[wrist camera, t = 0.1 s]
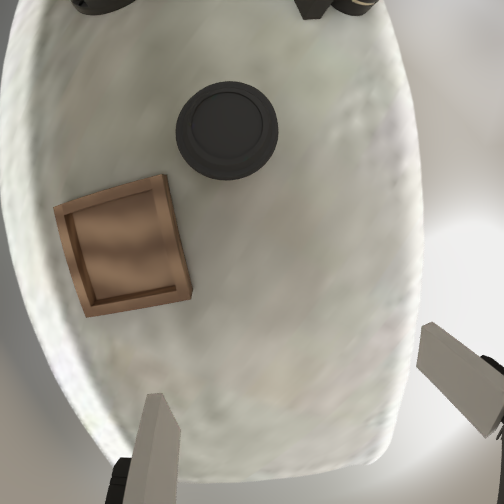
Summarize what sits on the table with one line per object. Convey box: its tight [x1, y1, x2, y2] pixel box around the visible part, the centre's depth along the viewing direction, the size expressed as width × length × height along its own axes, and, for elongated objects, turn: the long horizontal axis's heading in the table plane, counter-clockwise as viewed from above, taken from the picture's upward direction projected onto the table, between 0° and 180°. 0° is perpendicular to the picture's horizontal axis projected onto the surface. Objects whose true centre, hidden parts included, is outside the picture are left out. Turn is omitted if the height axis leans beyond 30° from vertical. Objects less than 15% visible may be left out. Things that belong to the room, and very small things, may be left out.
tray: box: [53, 174, 193, 318], centre depth 35 cm, size 16×16×4 cm
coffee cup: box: [176, 81, 278, 180], centre depth 28 cm, size 9×9×15 cm
